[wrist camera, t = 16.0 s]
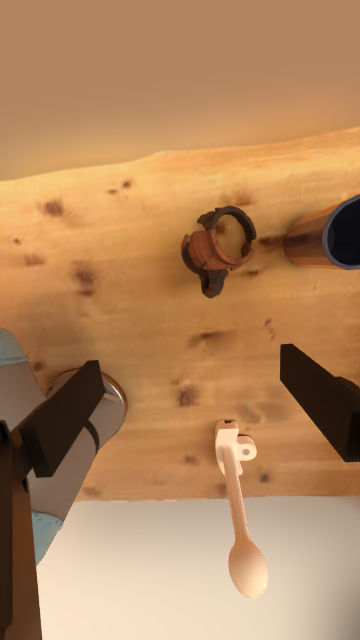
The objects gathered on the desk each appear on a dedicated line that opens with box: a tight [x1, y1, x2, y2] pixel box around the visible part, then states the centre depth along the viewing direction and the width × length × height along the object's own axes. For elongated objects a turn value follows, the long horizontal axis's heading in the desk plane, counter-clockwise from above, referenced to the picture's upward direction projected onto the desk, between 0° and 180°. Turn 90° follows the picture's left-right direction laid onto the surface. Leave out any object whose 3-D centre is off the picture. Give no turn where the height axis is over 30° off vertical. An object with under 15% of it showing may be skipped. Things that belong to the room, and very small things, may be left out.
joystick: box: [215, 420, 268, 598], centre depth 32 cm, size 11×8×20 cm
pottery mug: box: [181, 206, 256, 298], centre depth 30 cm, size 12×10×8 cm
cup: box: [284, 194, 360, 270], centre depth 27 cm, size 7×7×10 cm
